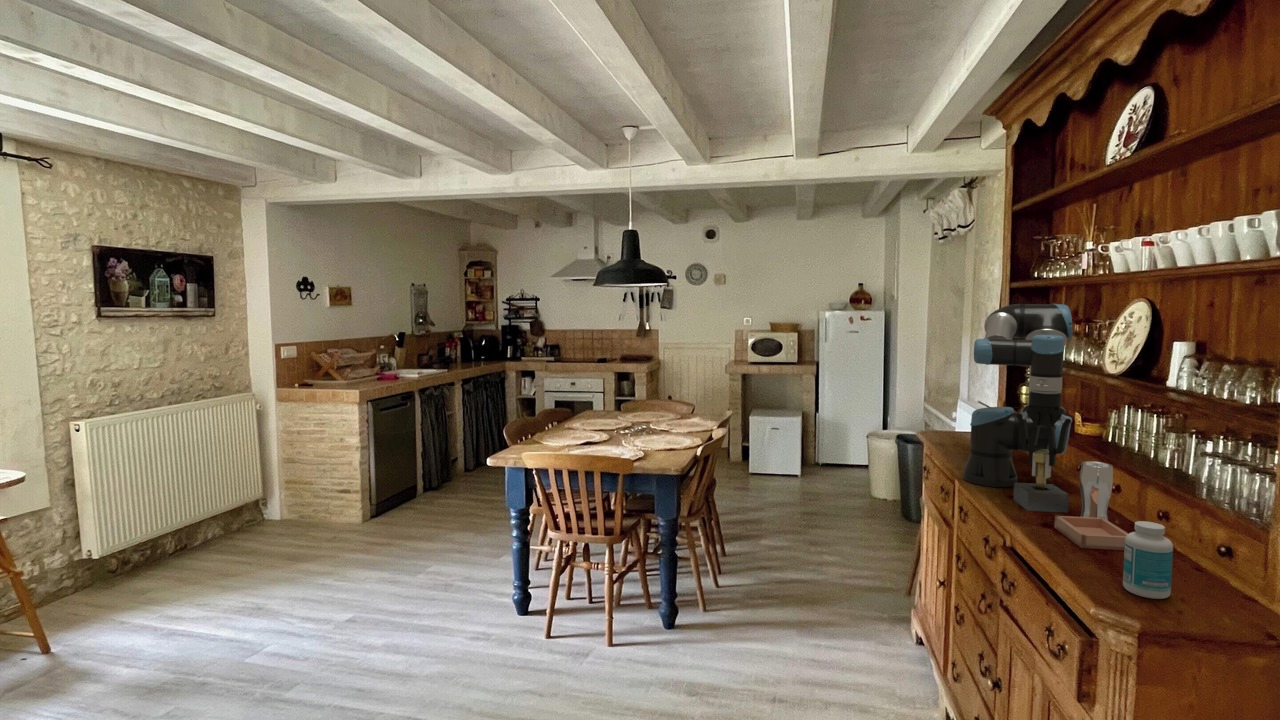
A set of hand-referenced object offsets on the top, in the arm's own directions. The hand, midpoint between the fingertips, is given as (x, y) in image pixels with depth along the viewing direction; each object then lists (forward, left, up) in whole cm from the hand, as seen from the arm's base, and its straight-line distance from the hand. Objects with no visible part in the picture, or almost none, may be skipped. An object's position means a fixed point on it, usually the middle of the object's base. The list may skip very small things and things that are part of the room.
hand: (1041, 475), depth 181 cm
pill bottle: (+55, -2, -9) cm, 56 cm away
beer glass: (+12, +8, -9) cm, 17 cm away
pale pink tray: (+25, +2, -9) cm, 27 cm away
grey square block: (0, 0, -8) cm, 8 cm away
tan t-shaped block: (0, 0, -8) cm, 8 cm away
